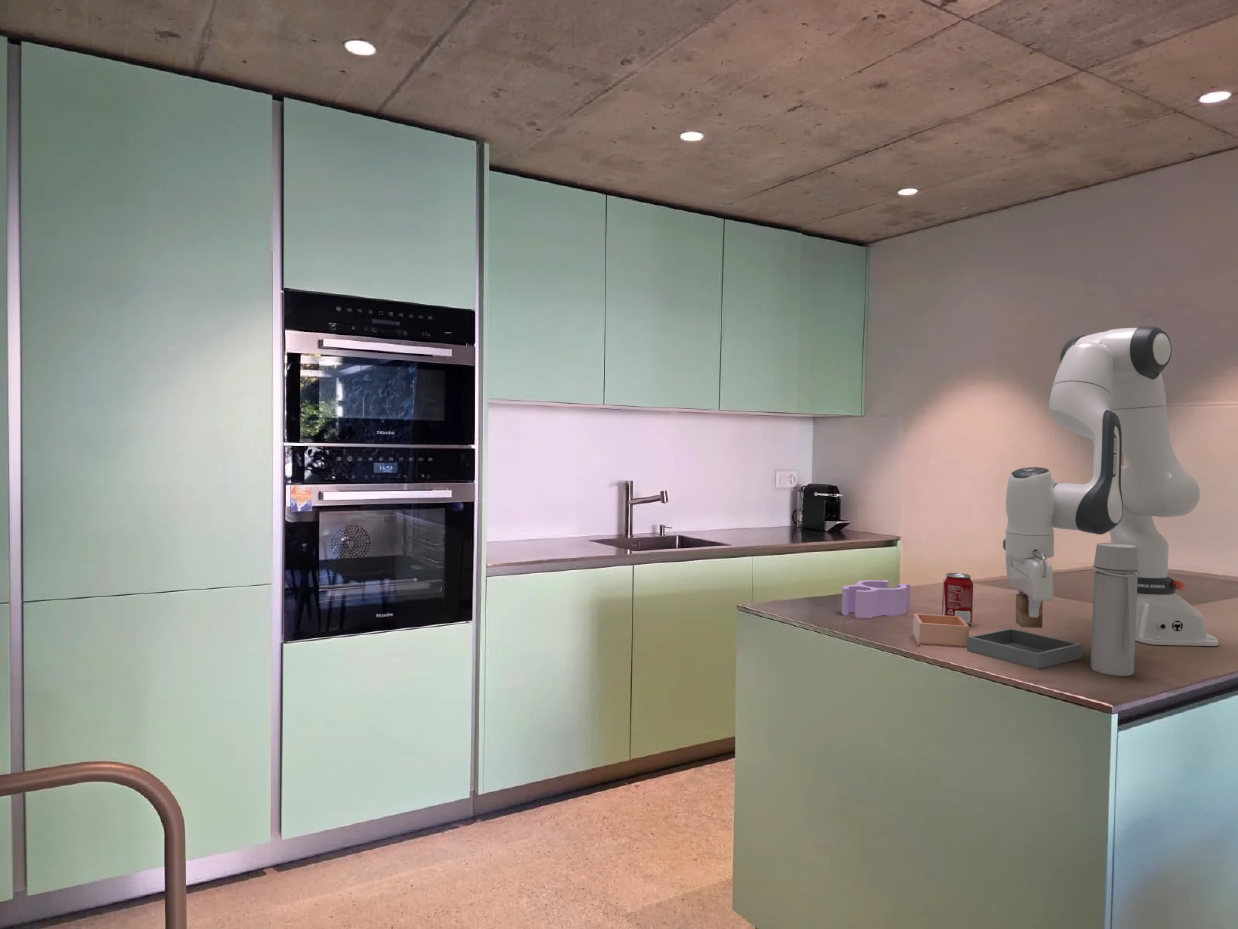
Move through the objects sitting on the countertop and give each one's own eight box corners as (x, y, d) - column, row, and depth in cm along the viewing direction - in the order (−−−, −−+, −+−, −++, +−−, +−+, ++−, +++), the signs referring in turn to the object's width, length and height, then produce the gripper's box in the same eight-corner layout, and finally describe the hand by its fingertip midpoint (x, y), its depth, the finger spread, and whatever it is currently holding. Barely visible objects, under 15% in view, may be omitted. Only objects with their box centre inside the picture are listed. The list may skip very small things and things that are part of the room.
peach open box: (959, 638, 182) (960, 616, 182) (968, 649, 172) (969, 626, 172) (912, 635, 184) (913, 613, 184) (918, 646, 174) (919, 623, 174)
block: (1036, 623, 168) (1036, 594, 168) (1042, 628, 165) (1042, 598, 164) (1015, 622, 169) (1015, 594, 169) (1021, 627, 165) (1021, 598, 165)
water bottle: (1080, 668, 160) (1085, 542, 159) (1119, 668, 160) (1124, 542, 159) (1109, 682, 151) (1114, 549, 150) (1151, 683, 151) (1156, 549, 150)
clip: (870, 622, 198) (871, 594, 197) (829, 612, 208) (830, 585, 207) (918, 612, 210) (919, 585, 209) (877, 603, 220) (877, 578, 219)
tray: (1010, 644, 178) (1010, 628, 178) (1081, 661, 165) (1081, 644, 165) (966, 653, 170) (967, 636, 169) (1038, 672, 157) (1038, 654, 156)
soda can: (974, 628, 192) (976, 578, 192) (944, 626, 194) (946, 576, 193) (968, 621, 199) (970, 573, 198) (939, 620, 200) (940, 571, 200)
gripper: (1062, 555, 155) (1062, 626, 156) (1031, 540, 175) (1031, 603, 176) (1027, 554, 157) (1026, 625, 157) (1000, 539, 177) (1000, 602, 177)
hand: (1029, 613), depth 167 cm, fingers closed on block, 4 cm apart
